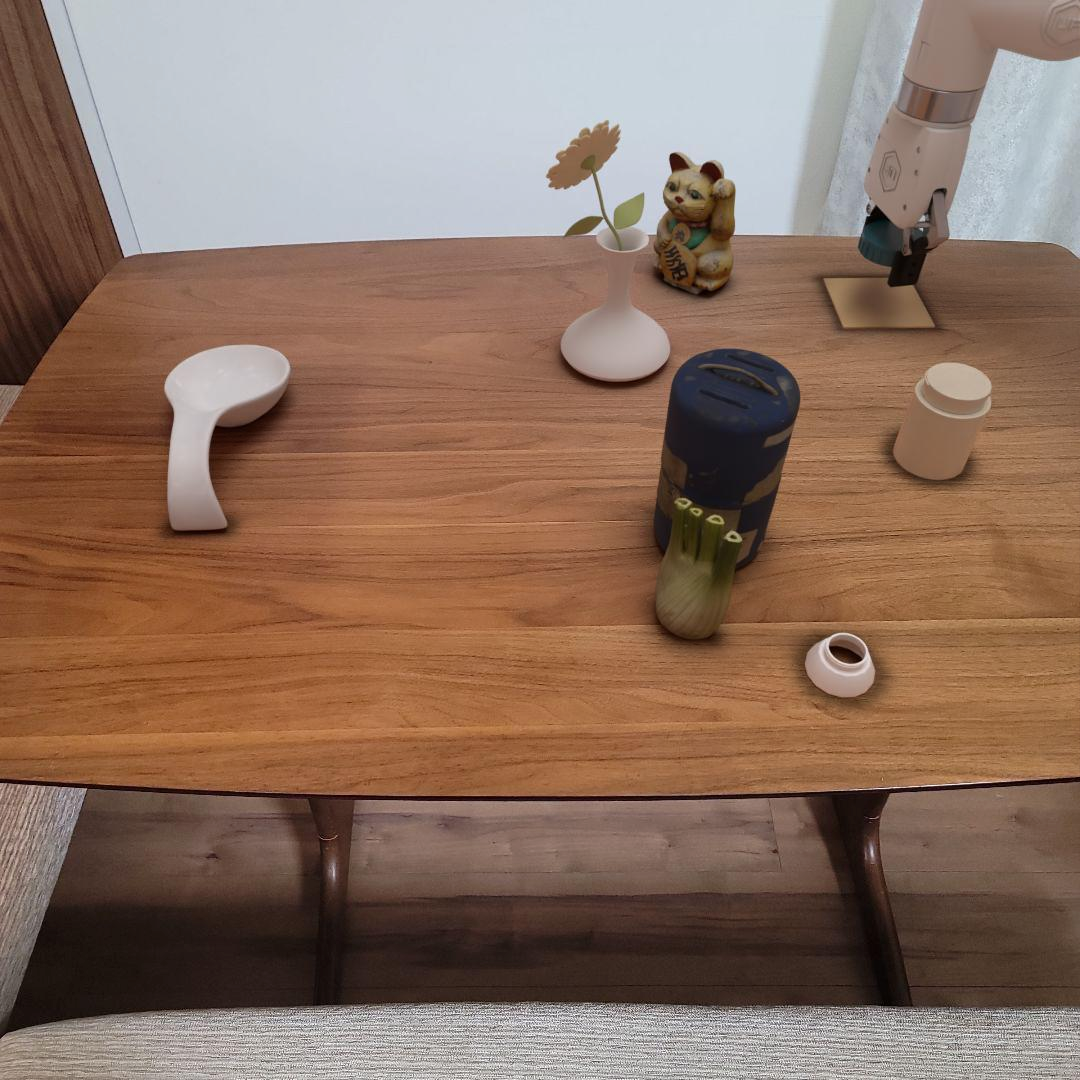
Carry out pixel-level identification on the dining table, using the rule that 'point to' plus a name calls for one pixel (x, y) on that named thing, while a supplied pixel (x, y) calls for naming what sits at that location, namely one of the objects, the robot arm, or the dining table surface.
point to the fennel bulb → (696, 573)
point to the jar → (943, 421)
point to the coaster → (876, 304)
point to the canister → (727, 442)
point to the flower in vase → (609, 274)
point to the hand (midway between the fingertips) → (886, 265)
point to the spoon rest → (214, 420)
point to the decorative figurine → (696, 226)
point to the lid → (883, 242)
